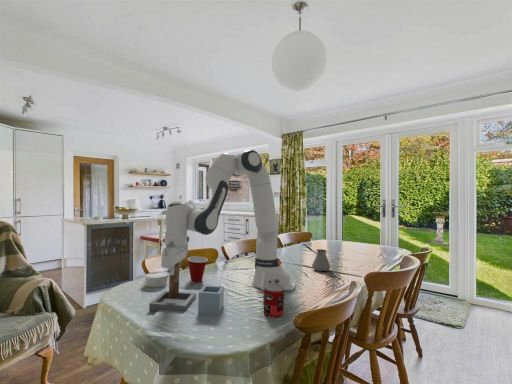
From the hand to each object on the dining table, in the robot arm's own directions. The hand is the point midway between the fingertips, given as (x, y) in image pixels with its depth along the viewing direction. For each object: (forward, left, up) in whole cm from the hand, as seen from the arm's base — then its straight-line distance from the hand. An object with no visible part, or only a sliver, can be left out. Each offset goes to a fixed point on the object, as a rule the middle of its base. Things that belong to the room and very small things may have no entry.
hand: (174, 272), depth 119 cm
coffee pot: (-67, -70, -14) cm, 98 cm away
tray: (0, 0, -14) cm, 14 cm away
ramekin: (+18, -23, -14) cm, 32 cm away
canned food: (-42, +2, -14) cm, 44 cm away
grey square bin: (-17, +4, -14) cm, 22 cm away
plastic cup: (0, -33, -14) cm, 36 cm away
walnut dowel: (0, 0, -10) cm, 10 cm away
